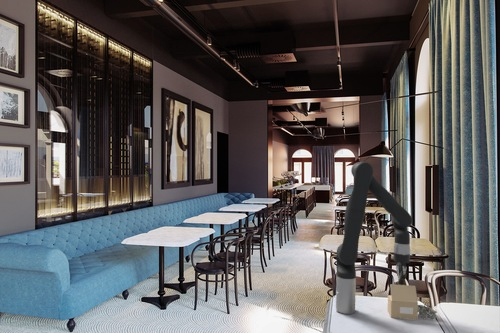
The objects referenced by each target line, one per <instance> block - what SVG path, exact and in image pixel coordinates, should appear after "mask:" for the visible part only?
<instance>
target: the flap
mask: <svg viewBox="0 0 500 333" xmlns="http://www.w3.org/2000/svg"><path fill="white" fill-rule="evenodd" d="M390 295H391V297H392V301H398V302H411V303H418V302H419V301H418V296H417V289H416V285H410V284H409V285H407V284H404V285H398V284H394V283H393V284H391V283H390Z"/></svg>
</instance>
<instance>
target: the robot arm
mask: <svg viewBox="0 0 500 333" xmlns="http://www.w3.org/2000/svg"><path fill="white" fill-rule="evenodd" d="M350 172H351V175H352V176H353V179H354V181H353V186H352V191H351V194H350V196H349V198H348V200H347V202H346V206H345V211H344V216H343V219H344V220H343V222H344V223H343V231H344V232H343V240H342V243H341V244H340V245H339V246H338V247H337V248H336V255H335V256H336V288H335V310H336V313H341V314H345V315H351V314H354V313H355V312H356V290H357V289H356V286H357V285H356V283H357V271H356V261H357V260H358V254H359V241H360V236H361V233H362V228H363V224H364V219H365V215H366V214H365V212H366V207H367V201H368V193H369V192H370V194H372V196H374V198H375V199H376V200H377V202H378V203H379V204H380V205H381V206H382V207H383V209H384V210H385V211H386V212H387V213H388V214H389V215H391V216H392V217H393V218H392V224H393V230H394V245H393V261H394V262H396V264H395V269H396V270H395V271H396V276H397V279H398V281H397V282H398V283H397V285H405V283H404V282H405V280H406V278H407V275H408V271H407V268H408V267H407V266H406V264H409V263H411V245H410V243H411V242H410V241H411V236H410V235H411V234H410V233H409V231H408V228H409V227H411V226H412V224H413V217H412V215H411V214H410V212H408V211H407V210H406V209H405V208H404V207H403V206H401V204H400V203H399V202H398V200H396V198H395V197H394V196H393V195H392V193H390V191H389V190H387V189H386V187H384V186H383V185H382V184H381V183H380V182H379V181H378V180H377V179H376V178H375V176H374V168H373V166H372V165H371V164H370V163H369V162H367V161H358V162H355V163H354V164H353V165H352V166H351V170H350Z"/></svg>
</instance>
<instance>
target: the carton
mask: <svg viewBox="0 0 500 333" xmlns="http://www.w3.org/2000/svg"><path fill="white" fill-rule="evenodd" d="M418 305H419V304H418V303H411V302H398V301H392V297H391V294H388V295H387V313H388V314H389V316H390V318H394V319H402V320H403V319H405V320H415V321H418V315H419V313H418Z"/></svg>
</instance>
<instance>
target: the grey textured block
mask: <svg viewBox="0 0 500 333" xmlns="http://www.w3.org/2000/svg"><path fill="white" fill-rule="evenodd" d="M418 312H419V313H418V315H419V316H420V318H421V317H422V319H424V318H425V320H428V319H431V320H435V319H437V313H438V311H437V310H435V309H433V308H431V307H430V306H426V305H425V304H424V305H423V304H418Z"/></svg>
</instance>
